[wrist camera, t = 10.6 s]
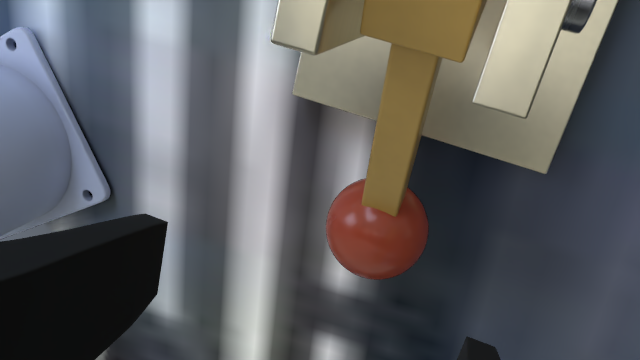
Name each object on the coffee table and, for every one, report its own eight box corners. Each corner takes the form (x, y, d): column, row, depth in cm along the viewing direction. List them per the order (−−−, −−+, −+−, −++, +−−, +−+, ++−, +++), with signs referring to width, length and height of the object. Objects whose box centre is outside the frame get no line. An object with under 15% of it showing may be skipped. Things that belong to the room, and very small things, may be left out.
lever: (428, 236, 20) (402, 313, 18) (342, 206, 21) (307, 277, 19) (555, -128, 11) (531, -55, 9) (396, -162, 12) (341, -101, 10)
